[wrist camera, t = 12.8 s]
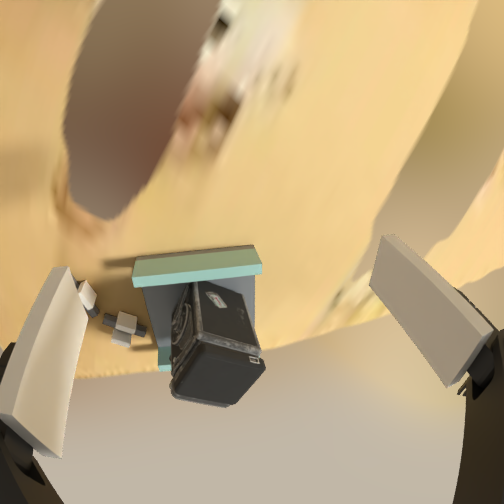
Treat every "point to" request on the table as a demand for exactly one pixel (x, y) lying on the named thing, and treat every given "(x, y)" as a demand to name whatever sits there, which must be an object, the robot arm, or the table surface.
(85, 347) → the table surface
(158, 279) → the dock
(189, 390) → the camera
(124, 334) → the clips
